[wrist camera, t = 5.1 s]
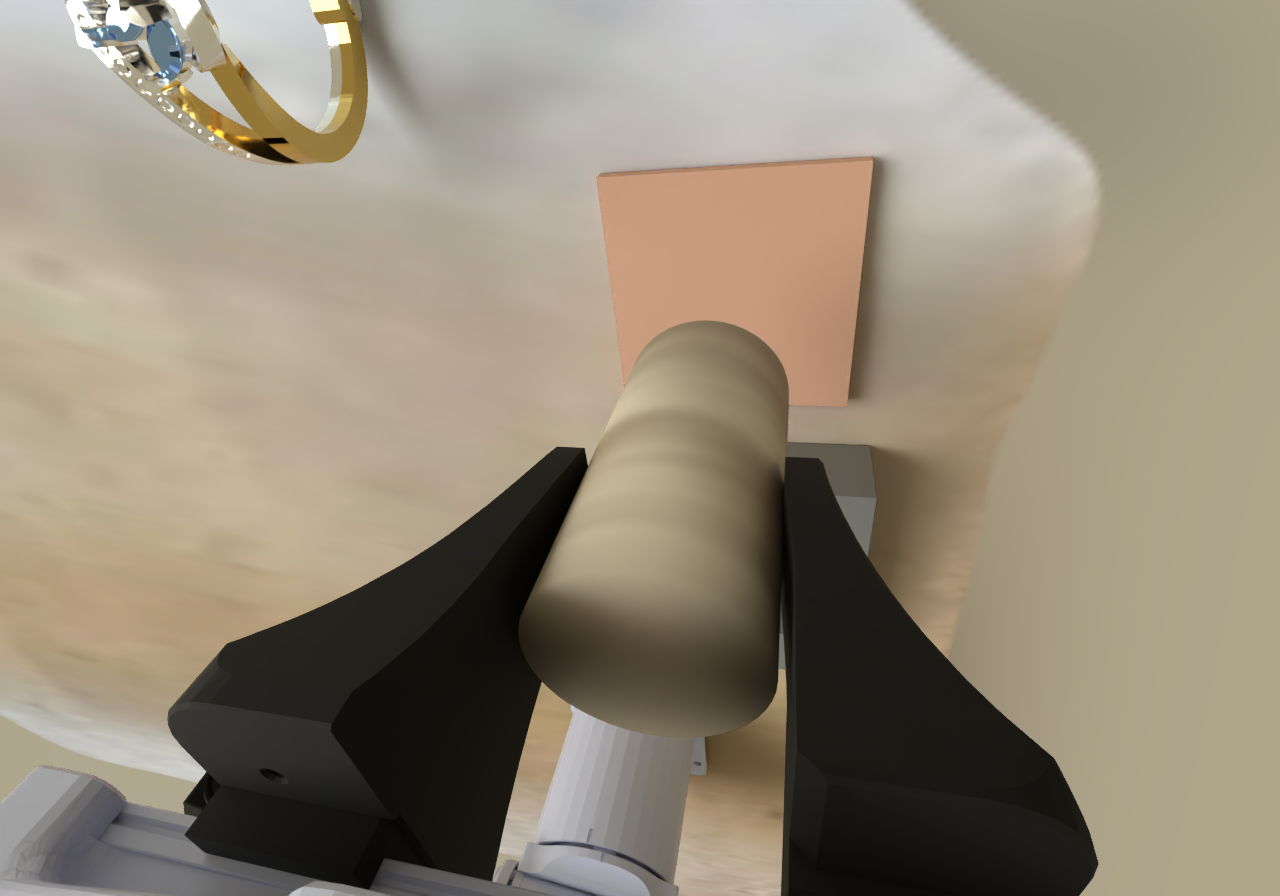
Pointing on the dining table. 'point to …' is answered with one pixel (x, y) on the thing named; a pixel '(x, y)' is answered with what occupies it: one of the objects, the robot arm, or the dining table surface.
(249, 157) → the ring
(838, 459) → the pocket block
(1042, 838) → the robot arm
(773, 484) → the peg
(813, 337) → the pad
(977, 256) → the dining table surface
